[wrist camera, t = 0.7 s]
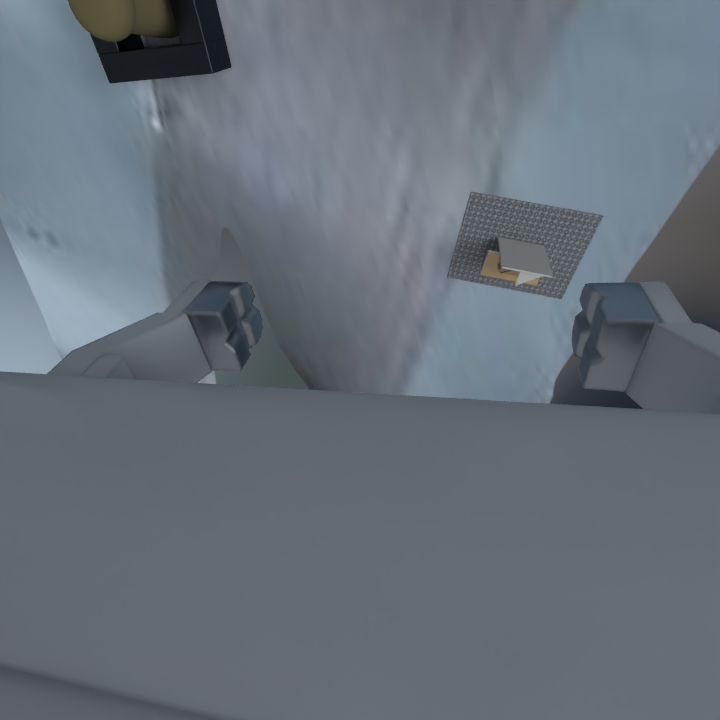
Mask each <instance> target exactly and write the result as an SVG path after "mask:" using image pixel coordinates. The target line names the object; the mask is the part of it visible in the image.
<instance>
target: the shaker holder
mask: <svg viewBox="0 0 720 720" xmlns="http://www.w3.org/2000/svg"><path fill="white" fill-rule="evenodd" d="M169 2H170V6H171V9H172V12H173V16H174V19H175V23H176V26H177V30H178V33H179V37H180V40H181V43H179V44H171V45H162V46H153V47H144V45H143V42H142V39H141V37H140V35H138V34H130V35H129V36H128V37H127V38H125V39H123V40H121V41H117V42H110V41H104V40H101V39H99V38H97V37H95V36H93V35H92V34H91V33H90V35H91V37H92V40H93V42H94V45H95V47H96V50H97V52H98V54H99V57H100V60H101V62H102V65H103V67H104V70H105V72H106V75H107V77H108V80H109V82H110V83H118V82H128V81H139V80H149V79H160V78H170V77H181V76H191V75H202V74H212V73H216V72H219V71H222V70H225V69H228V68H231V63H230V59H229V55H228V51H227V46H226V42H225V39H224V33H223V29H222V25H221V21H220V17H219V12H218V8H217V4H216V0H169Z"/></svg>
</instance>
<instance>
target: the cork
mask: <svg viewBox="0 0 720 720" xmlns="http://www.w3.org/2000/svg"><path fill="white" fill-rule="evenodd" d="M68 1H69V5H70V8H71V10H72V12H73V14H74V15H75V17H76V19H77V20H78V21H79V23H80V24H81V25H82V26H83V27H84V28H85V29H86V30H87V31H88V32H89V33H91V34H92V35H93V36H95V37H97V38H99V39H101V40H104V41H110V42H117V41H121V40H123V39H125V38H127V37H128V36H129V35H130V34H138V35H145V36H153V37H160V38H175V37H177V36H179V33H178V30H177V26H176V23H175V19H174V16H173V12H172V9H171V6H170V2H169V0H68Z"/></svg>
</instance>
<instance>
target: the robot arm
mask: <svg viewBox="0 0 720 720" xmlns="http://www.w3.org/2000/svg"><path fill="white" fill-rule="evenodd" d="M254 298H255V295H254V292H253V289H252V286H251V285H250V284H249V283H248V282H233V281H231V282H230V281H194V282H191V284H190V285H189V286H188V287H187V288H186V289H185V290H184V291H183V292H182V293H181V294H180V295H179V296H178V297H177V298H176V299H175V300H174V301H173V303H172V304H171V305H170V306H169V307H168V308H167V309H166V310H165V311H164V312H163V313H156V314H153V315H151V316H149V317H147V318H145V319H142V320H140V321H138V322H136V323H133V324H131V325H129V326H127V327H125V328H122V329H120V330H118V331H116V332H113V333H111V334H109V335H107V336H104V337H102V338H100V339H98V340H96V341H93V342H91V343H89V344H87V345H84V346H82V347H80V348H78V349H76V350H73V351H71V352H70V353H69V354H68V355H67V356H66V357H65V358H64V359H63V360H62V361H60V362H59V363H58V364H57V365H56V366H55V367H54V368H53V369H52V370H51V371H50V372H49V373H48V374H32V373H16V372H15V373H14V372H0V720H720V333H719V332H717V331H715V330H713V329H711V328H709V327H707V326H705V325H703V324H694V323H692V322H691V320H690V319H689V317H688V316H687V314H686V313H685V311H684V310H683V308H682V307H681V305H680V304H679V302H678V301H677V300H676V298H675V296H674V295H673V294H672V292H671V291H670V289H669V288H668V286H667V285H666V284H665V283H663V282H641V283H639V282H632V283H631V282H629V283H628V282H627V283H588V284H585V286H584V288H583V290H582V293H581V297H580V303H581V306H582V309H583V310H582V311H581V312H580V313H579V314H578V315H577V316H575V320H574V325H573V330H572V347H573V352H574V355H575V356H576V357H577V358H579V359H580V364H579V367H578V370H579V373H580V376H581V379H582V383H583V386H584V388H587V389H600V390H613V391H626V394H628V395H629V396H630V397H631V398H632V399H633V400H634V401H635V402H636V403H638V404H639V405H640V406H641V407H642V408H643V409H628V408H611V407H594V406H576V405H560V404H543V403H526V402H509V401H491V400H474V399H457V398H440V397H423V396H406V395H389V394H372V393H355V392H338V391H321V390H304V389H287V388H270V387H253V386H235V385H219V384H202V383H197V382H199V381H200V380H201V379H203V378H204V377H205V376H207V375H208V374H209V373H211V372H212V371H211V370H225V371H227V370H228V371H241V370H242V368H243V367H244V365H245V363H246V362H247V360H248V358H249V357H250V355H251V354H250V351H249V349H250V348H251V347H253V346H254V345H256V344H257V343H258V341H259V339H260V337H261V333H262V327H263V326H262V318H261V314H260V311H259V310H258V309H257V308H256V307H255V306H254V305H253V304H252V302H253V300H254Z"/></svg>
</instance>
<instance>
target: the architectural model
mask: <svg viewBox="0 0 720 720" xmlns="http://www.w3.org/2000/svg"><path fill="white" fill-rule="evenodd" d="M602 217H603V216H601V215H596V214H590V213H585V212H579V211H573V210H568V209H562V208H557V207H551V206H546V205H540V204H534V203H529V202H523V201H518V200H512V199H506V198H501V197H495V196H490V195H484V194H478V193H473V192H471V195H470V198H469V202H468V205H467V209H466V212H465V216H464V220H463V223H462V227H461V230H460V234H459V238H458V241H457V245H456V248H455V252H454V255H453V259H452V263H451V266H450V270H449V273H448V277H450V278H455V279H460V280H465V281H470V282H476V283H481V284H486V285H491V286H496V287H501V288H507V289H512V290H517V291H522V292H527V293H532V294H538V295H543V296H548V297H553V298H558V299H562V297H563V295H564V293H565V291H566V289H567V287H568V285H569V283H570V281H571V279H572V277H573V275H574V273H575V271H576V269H577V267H578V265H579V263H580V261H581V259H582V257H583V255H584V253H585V251H586V249H587V247H588V245H589V243H590V241H591V239H592V237H593V235H594V233H595V231H596V229H597V227H598V225H599V223H600V221H601V219H602Z"/></svg>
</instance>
